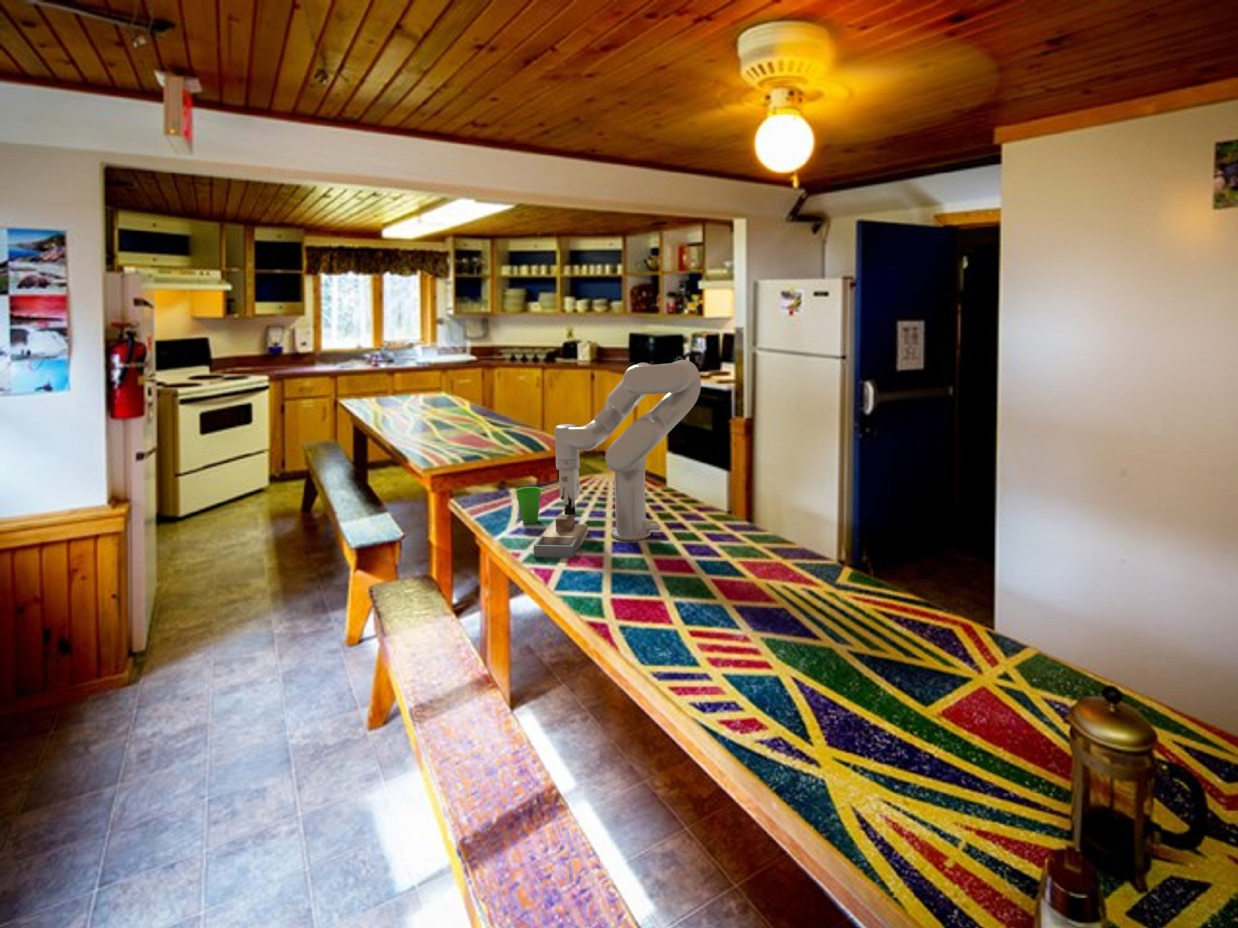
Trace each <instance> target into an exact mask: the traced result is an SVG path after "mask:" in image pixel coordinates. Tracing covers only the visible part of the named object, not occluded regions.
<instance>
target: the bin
mask: <svg viewBox="0 0 1238 928" xmlns="http://www.w3.org/2000/svg"><path fill="white" fill-rule="evenodd" d="M579 549H580V547H579V536H576V537H575V539H574V540H573V542H572V544H571V545H544V535H543V534H541V535H540V536H539V538H538V539H537V540H536V541H535V543H534V545H533V556H534V557H533V558H552V559H553V558H556V559H557V558H558V559H559V558H561V559H562V558H563V559H567V558H568V559H573V558H574V557H575V555H577V554H576V553H577V552H578V550H579Z"/></svg>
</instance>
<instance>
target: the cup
mask: <svg viewBox="0 0 1238 928" xmlns="http://www.w3.org/2000/svg"><path fill="white" fill-rule="evenodd" d="M542 491H543V489H542V488H541V487H538V486H525V487H524V486H523V487H519V488H517V489H515V490H514V492H515V494H516V498H517V502H518V507H519V512H520V516H521V520H522V522H523V523H524V524H534V523H537V522H538V521H539V512H540V504H541V495H542Z"/></svg>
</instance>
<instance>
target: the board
mask: <svg viewBox="0 0 1238 928" xmlns="http://www.w3.org/2000/svg"><path fill="white" fill-rule="evenodd" d="M588 529H589V528H588V524H586V523H575V528H574V529H573V531H572V532H556V523H550V524H549V525H548V527H547V528H546V529H545V530H544V532H543V534H542V535H544V545H571V544H572V542H573V540H574V539H575V537H576V536H579V548H581V547H582V544H583V542H584V541H585V539H586V538H587V535H588V533H589V530H588Z"/></svg>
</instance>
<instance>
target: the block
mask: <svg viewBox="0 0 1238 928" xmlns="http://www.w3.org/2000/svg"><path fill="white" fill-rule="evenodd" d="M575 516H576V515H575ZM575 516H574V515H565V514H557V516H556V517H555V519H554V520H555V521H554V522H555V524H556V532H572V531H573V529H574V528H575V524H576V522H575V521H576V520H575V519H576V517H575Z"/></svg>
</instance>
